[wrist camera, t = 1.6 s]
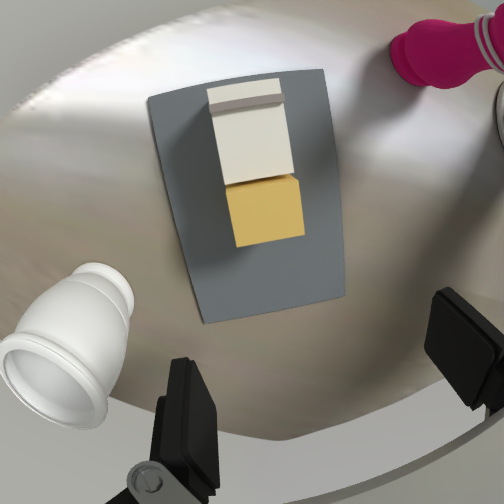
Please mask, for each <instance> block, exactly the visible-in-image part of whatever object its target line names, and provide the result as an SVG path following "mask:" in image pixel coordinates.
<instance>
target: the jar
mask: <svg viewBox="0 0 504 504" xmlns="http://www.w3.org/2000/svg"><path fill="white" fill-rule="evenodd" d="M133 309H134V296H133V292H132V290H131V287H130V285H129V284H128V282H127V281H126V279H125V278H124V277H123V276H122V275H121V274H120V273H119V272H118V271H116V270H115V269H113V268H112V267H110V266H108V265H105V264H101V263H86V264H83V265H81V266H79V267H78V268H77V269H76V270H75V271H74V272H73V273H72V275H71V276H68V277H66V278H64V279H63V280H61V281H59V282H58V283H57V284H55V285H54V286H53V287H51V288H49V289H48V290H47V291H45V292H44V293H43V294H41V295H40V296H39V297H38V298H37V299H36V300H35V301H34V302H33V303H32V304H31V305H30V306H29V308H28V309H27V310H26V312H25V313H24V315H23V316H22V318H21V319H20V321H19V323H18V325H17V327H16V329H15V331H14V333H13V334H10V335H8V336H7V337H5V338H4V339H3V341H2V342H1V343H0V373H1V375H2V377H3V379H4V380H5V382H6V384H7V385H8V386H9V388H10V389H11V390H12V391H13V393H14V394H15V395H16V396H17V397H18V398H19V399H20V400H21V401H22V402H23V403H24V404H25V405H27V406H28V407H29V408H30V409H32V410H33V411H34V412H36V413H37V414H39V415H40V416H42V417H44V418H45V419H47V420H49V421H51V422H54V423H56V424H59V425H61V426H64V427H68V428H72V429H79V430H87V429H93V428H96V427H98V426H100V425H101V424H102V423H103V422H104V420H105V418H106V414H107V410H108V402H107V397H108V396H109V394H110V393H111V391H112V389H113V388H114V386H115V384H116V382H117V379H118V377H119V375H120V372H121V369H122V366H123V362H124V358H125V353H126V346H127V338H128V333H129V318H130V316H131V315H132V312H133Z"/></svg>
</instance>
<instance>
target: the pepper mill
mask: <svg viewBox="0 0 504 504" xmlns="http://www.w3.org/2000/svg"><path fill="white" fill-rule="evenodd" d="M390 53H391V59H392V62H393V65H394V67H395V69H396V70H397V72H398V73H399V74H400V76H401V77H402V78H403V79H404V80H406V81H407V82H408V83H410V84H412V85H415V86H433V87H436V88H440V89H450V88H454V87H458V86H460V85H462V84H464V83H466V82H467V81H468V80H469V79H470V78H471V77H472V76H473V75H475V74H476V73H478V72H480V71H483V70H488V69H494V70H495V71H497V72H498V73H500V74H504V3H503V4H501V5H500V6H499V7H498V8H497V9H496V12H495V13H491V12H490V13H487V14H486V15H485V14H481V15H479V16H478V17H477V18H476V20H475V22H474V23H468V24H456V23H451V22H447V21H443V20H437V19H427V20H423V21H419V22H417V23H415V24H413V25H412V26H411V27H410V28H409V29H408V31H407V32H405V33H402V34H400V35H398V36H396V37H395V38H394V40H393V41H392V44H391V48H390Z"/></svg>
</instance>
